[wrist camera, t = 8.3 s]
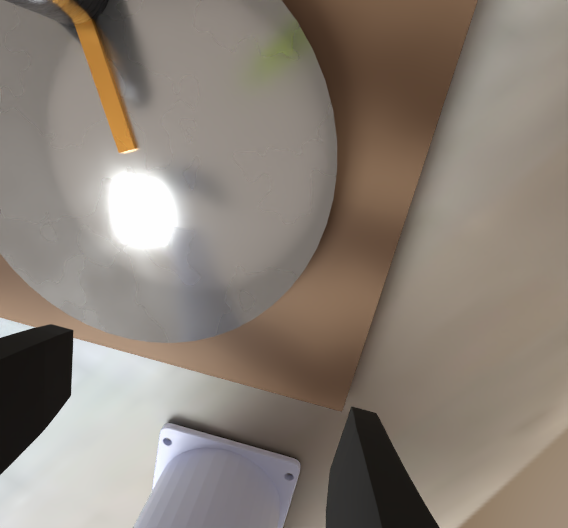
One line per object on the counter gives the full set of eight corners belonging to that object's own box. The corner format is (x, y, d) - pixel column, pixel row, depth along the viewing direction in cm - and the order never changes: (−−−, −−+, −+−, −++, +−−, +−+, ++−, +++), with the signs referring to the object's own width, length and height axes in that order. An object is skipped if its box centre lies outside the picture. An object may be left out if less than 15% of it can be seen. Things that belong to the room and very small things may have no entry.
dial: (370, 305, 17) (382, 378, 12) (55, 355, 20) (-41, 430, 15) (283, -149, 13) (243, -339, 8) (-101, 8, 16) (-310, -50, 11)
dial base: (342, 396, 20) (342, 416, 19) (-52, 288, 22) (-79, 299, 20) (483, -41, 14) (499, -61, 12) (-87, -155, 15) (-131, -184, 14)
